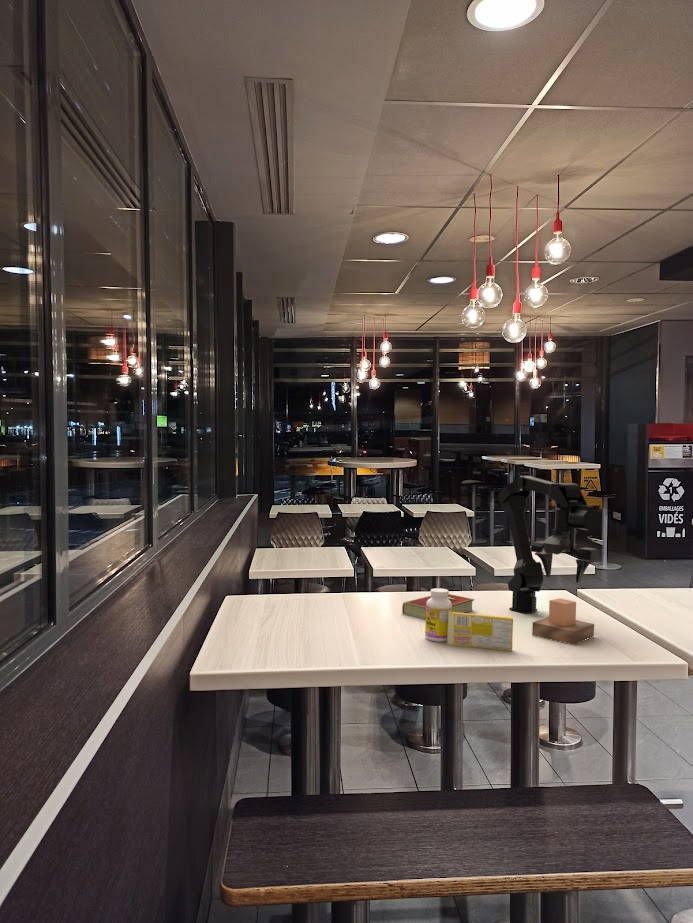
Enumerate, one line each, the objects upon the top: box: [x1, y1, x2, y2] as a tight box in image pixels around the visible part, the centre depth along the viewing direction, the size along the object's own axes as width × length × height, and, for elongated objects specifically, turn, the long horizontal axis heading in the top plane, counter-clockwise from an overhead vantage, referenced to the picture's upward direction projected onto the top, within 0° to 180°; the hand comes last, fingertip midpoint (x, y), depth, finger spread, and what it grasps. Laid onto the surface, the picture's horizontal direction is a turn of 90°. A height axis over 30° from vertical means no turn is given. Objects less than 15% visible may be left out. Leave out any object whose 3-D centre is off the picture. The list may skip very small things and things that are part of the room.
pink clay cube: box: [548, 598, 577, 626], centre depth 185 cm, size 5×5×6 cm
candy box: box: [446, 612, 514, 652], centre depth 172 cm, size 16×2×8 cm, turn 74°
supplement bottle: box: [424, 587, 452, 643], centre depth 177 cm, size 7×7×13 cm
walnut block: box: [531, 616, 595, 645], centre depth 185 cm, size 12×12×4 cm
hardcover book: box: [401, 593, 475, 620], centre depth 207 cm, size 12×21×4 cm, turn 138°
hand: (562, 580), depth 197 cm, fingers open, 9 cm apart
